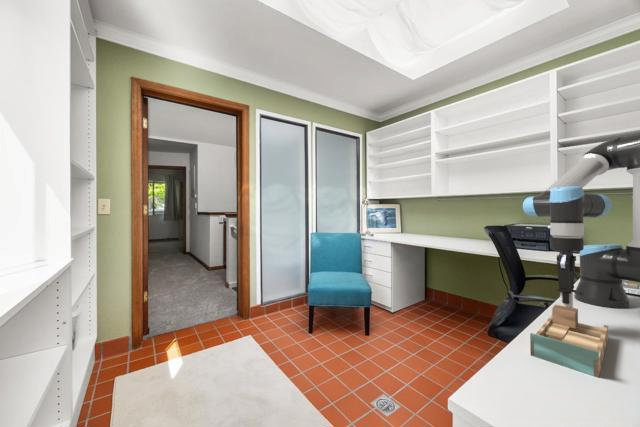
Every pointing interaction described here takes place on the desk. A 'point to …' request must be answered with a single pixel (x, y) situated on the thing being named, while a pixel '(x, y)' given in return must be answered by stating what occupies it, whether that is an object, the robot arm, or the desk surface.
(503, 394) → the desk surface
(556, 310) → the block
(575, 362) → the tray
